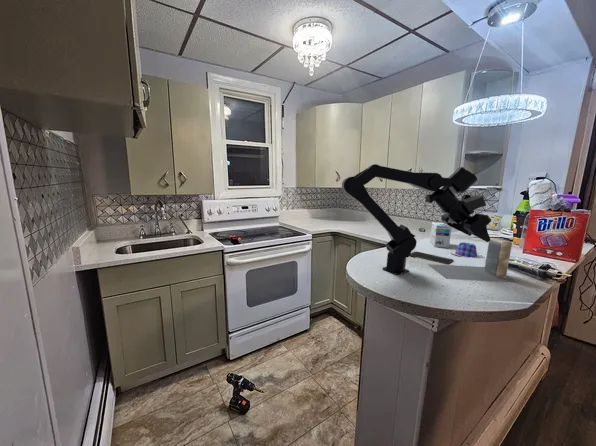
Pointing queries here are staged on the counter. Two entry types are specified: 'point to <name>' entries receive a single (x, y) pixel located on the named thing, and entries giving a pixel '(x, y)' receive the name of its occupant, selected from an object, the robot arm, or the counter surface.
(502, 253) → the maple block
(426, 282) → the counter surface
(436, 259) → the phone
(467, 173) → the robot arm
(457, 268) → the rubber mat
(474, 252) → the purple checkered dome
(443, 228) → the light bulb box
